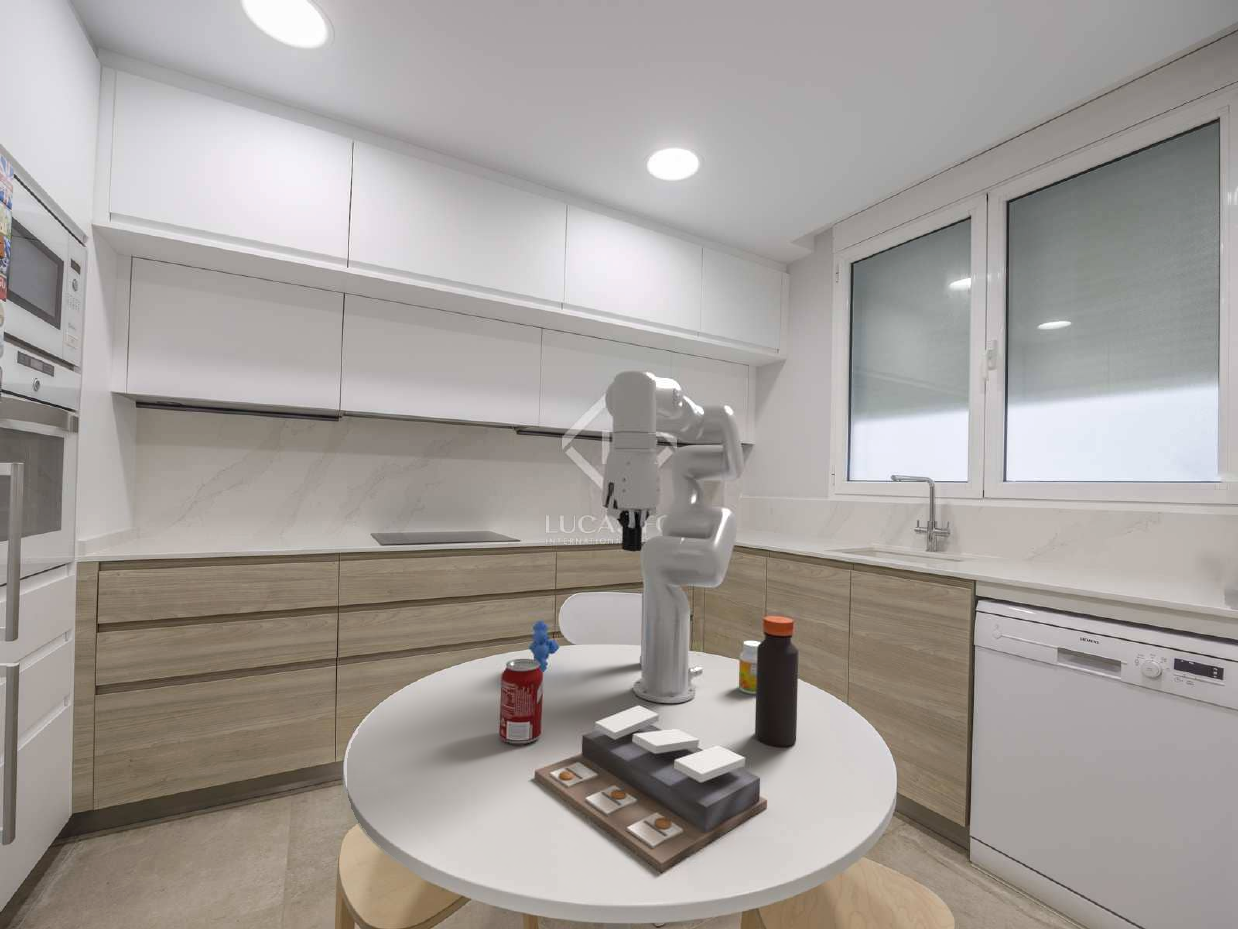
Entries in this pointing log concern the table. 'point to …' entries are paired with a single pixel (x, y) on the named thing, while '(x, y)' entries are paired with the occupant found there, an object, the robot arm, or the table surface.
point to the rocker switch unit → (651, 797)
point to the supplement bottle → (748, 667)
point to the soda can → (521, 701)
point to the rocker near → (709, 763)
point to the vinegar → (776, 684)
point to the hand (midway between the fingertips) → (631, 550)
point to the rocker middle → (665, 740)
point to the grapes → (542, 645)
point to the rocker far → (626, 722)
